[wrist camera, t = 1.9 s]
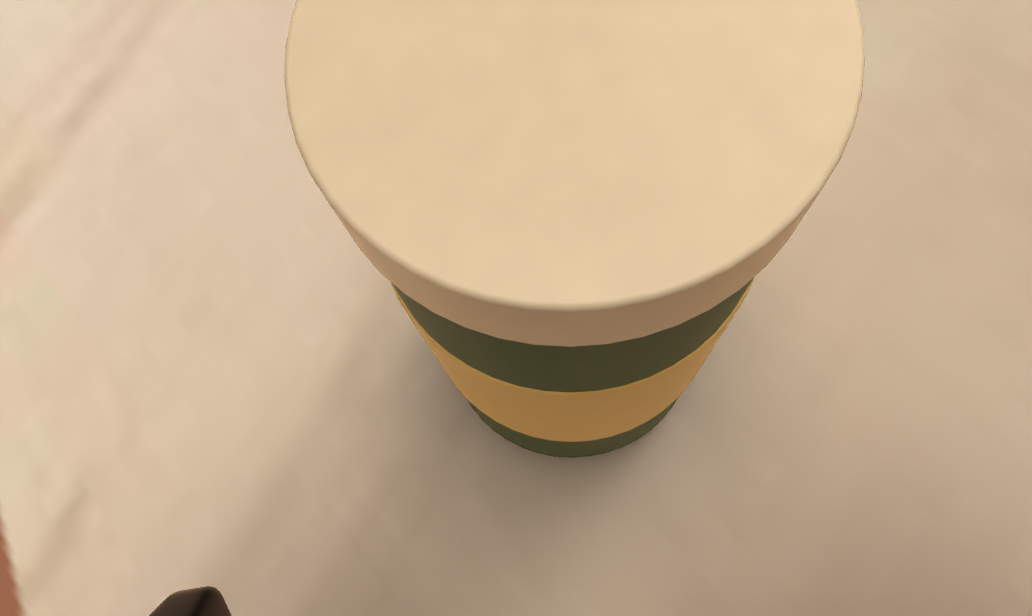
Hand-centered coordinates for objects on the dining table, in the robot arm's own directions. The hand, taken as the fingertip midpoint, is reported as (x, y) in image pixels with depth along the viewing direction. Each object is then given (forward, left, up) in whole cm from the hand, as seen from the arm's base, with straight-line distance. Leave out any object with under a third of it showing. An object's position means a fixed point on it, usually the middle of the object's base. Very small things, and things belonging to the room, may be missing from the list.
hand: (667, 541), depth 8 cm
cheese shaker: (+5, +1, -12) cm, 13 cm away
